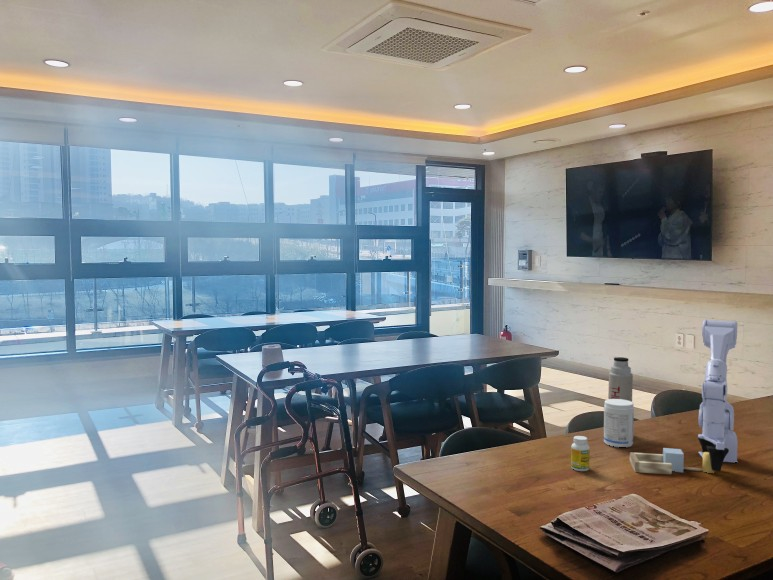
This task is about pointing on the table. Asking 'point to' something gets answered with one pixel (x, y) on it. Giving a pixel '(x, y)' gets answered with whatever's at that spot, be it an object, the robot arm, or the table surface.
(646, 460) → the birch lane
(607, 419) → the supplement tub
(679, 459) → the corded block
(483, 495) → the table surface
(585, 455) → the supplement bottle
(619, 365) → the thermos bottle
